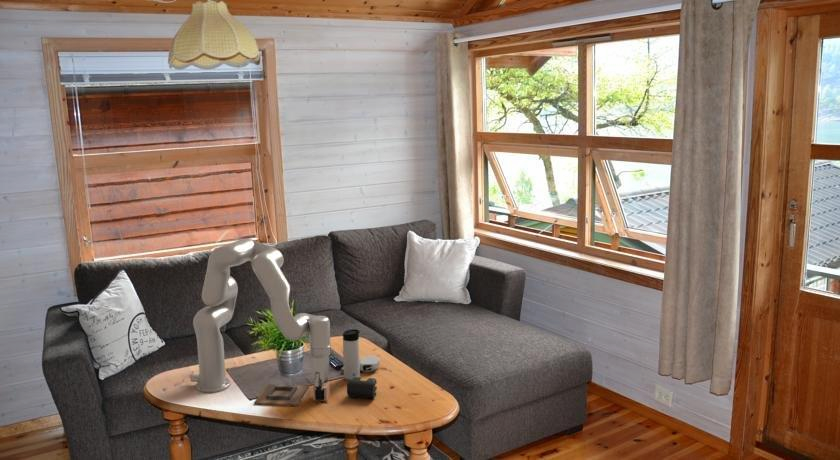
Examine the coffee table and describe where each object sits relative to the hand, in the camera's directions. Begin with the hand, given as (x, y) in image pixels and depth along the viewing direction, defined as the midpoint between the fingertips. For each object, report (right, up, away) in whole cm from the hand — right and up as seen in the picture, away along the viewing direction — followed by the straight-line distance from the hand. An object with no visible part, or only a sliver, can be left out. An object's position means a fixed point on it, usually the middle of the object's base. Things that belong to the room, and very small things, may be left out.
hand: (321, 395), depth 255 cm
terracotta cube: (0, -1, 0) cm, 1 cm away
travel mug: (+10, +3, +17) cm, 20 cm away
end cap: (+15, -1, +1) cm, 15 cm away
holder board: (-15, 0, +2) cm, 15 cm away
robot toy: (+12, +4, +27) cm, 30 cm away
